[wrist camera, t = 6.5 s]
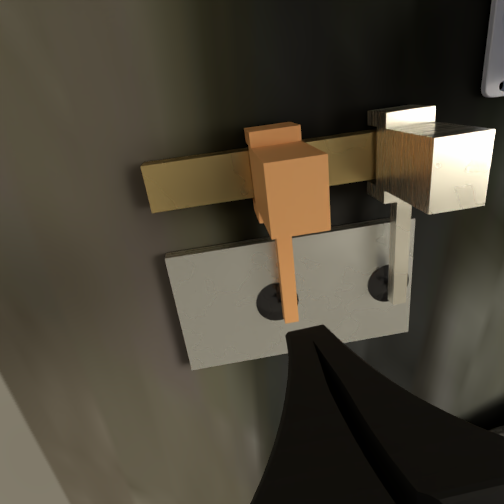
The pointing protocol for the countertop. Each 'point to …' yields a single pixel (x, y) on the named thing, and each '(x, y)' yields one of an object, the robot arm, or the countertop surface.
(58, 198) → the countertop surface
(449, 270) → the countertop surface
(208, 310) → the bolt plate
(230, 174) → the rail
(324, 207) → the slider leg
